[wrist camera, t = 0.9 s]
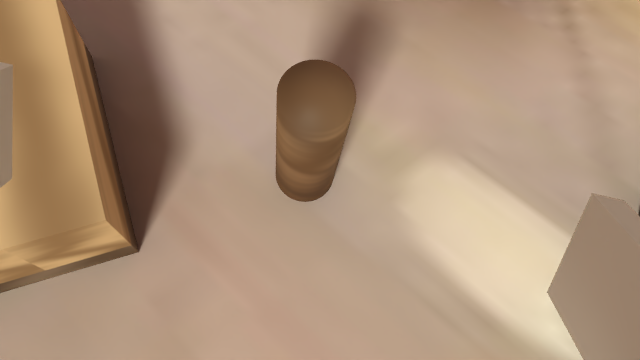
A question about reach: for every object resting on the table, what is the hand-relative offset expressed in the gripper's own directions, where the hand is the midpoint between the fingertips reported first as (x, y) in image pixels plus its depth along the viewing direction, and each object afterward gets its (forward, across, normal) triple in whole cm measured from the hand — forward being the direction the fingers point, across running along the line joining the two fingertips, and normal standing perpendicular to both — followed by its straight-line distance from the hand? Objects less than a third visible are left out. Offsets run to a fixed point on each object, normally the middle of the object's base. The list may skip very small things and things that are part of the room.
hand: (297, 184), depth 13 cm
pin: (+26, +1, -11) cm, 28 cm away
